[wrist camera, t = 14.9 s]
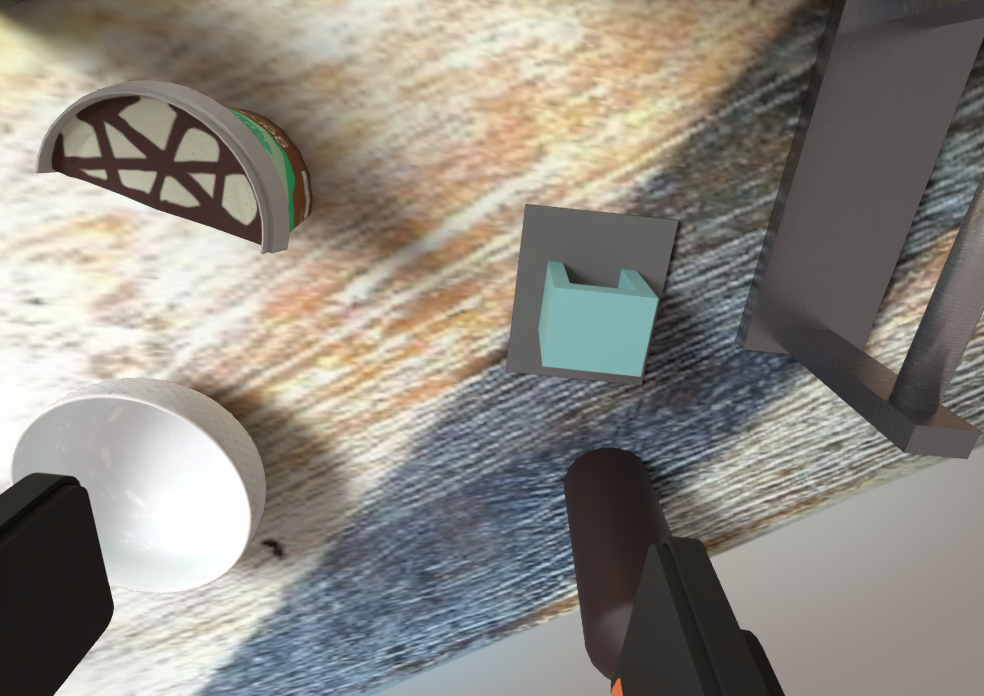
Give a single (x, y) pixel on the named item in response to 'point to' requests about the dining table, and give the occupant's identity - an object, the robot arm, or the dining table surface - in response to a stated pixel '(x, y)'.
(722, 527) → the dining table surface
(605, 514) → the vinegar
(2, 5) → the cola bottle
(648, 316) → the teal u-channel
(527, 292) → the mat
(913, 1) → the stand
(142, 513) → the cereal bowl
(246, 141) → the food container
